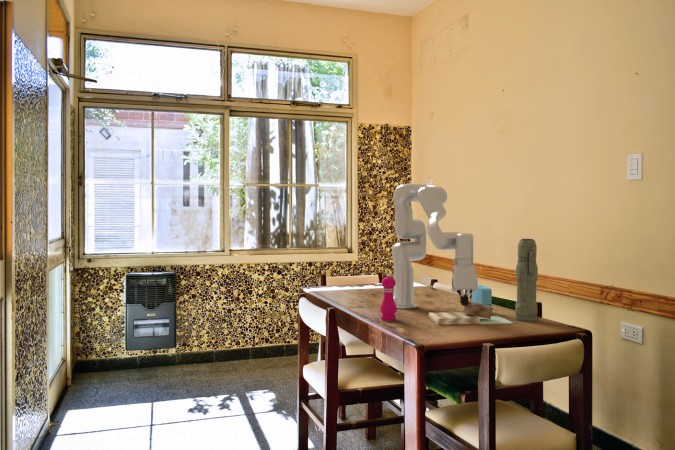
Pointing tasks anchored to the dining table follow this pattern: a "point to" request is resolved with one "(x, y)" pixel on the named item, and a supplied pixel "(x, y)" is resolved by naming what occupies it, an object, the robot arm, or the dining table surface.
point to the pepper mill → (388, 299)
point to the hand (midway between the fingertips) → (464, 305)
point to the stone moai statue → (526, 281)
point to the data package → (482, 295)
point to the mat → (494, 320)
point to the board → (453, 318)
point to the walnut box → (478, 310)
